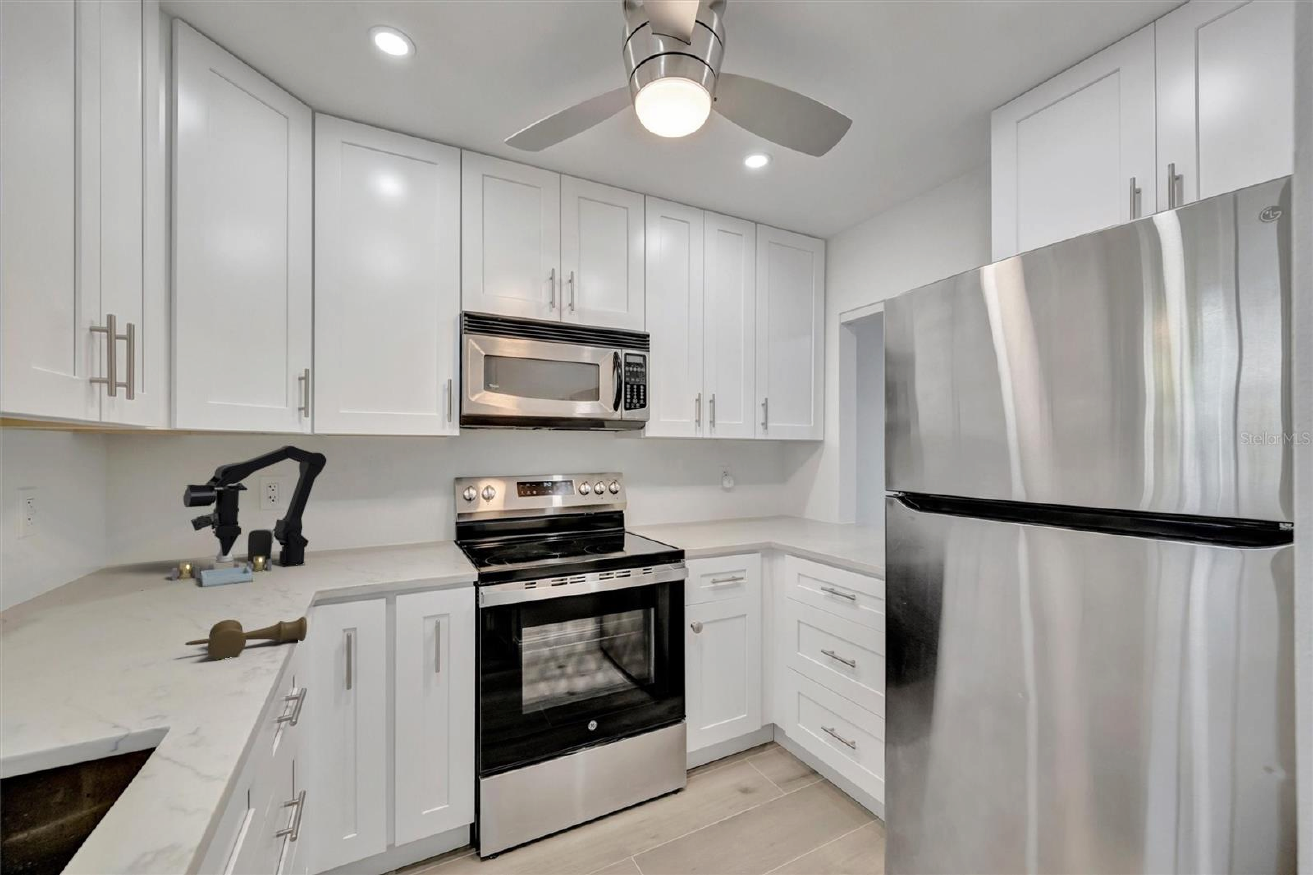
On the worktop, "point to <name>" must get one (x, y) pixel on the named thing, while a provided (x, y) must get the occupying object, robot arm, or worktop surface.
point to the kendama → (247, 636)
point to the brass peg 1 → (186, 570)
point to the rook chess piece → (224, 557)
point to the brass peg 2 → (259, 563)
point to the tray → (226, 576)
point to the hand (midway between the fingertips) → (224, 554)
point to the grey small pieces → (211, 567)
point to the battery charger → (260, 544)
